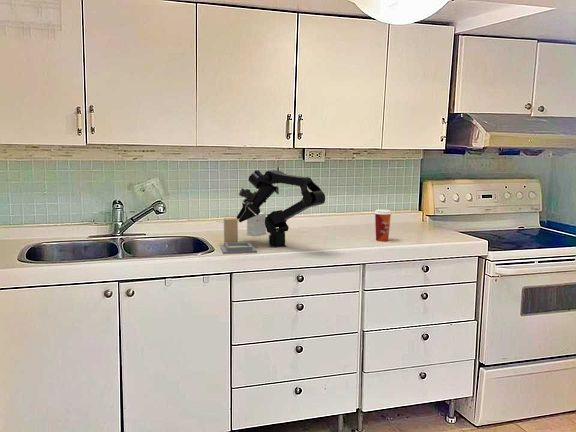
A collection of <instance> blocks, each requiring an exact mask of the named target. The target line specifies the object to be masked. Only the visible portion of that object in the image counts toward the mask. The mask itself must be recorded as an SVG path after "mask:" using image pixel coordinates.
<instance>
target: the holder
mask: <svg viewBox="0 0 576 432" xmlns="http://www.w3.org/2000/svg"><path fill="white" fill-rule="evenodd" d="M220 251H221V252H222V254H223V255H227V254H251V253H252V254H257V253H258V250H257V249H256V247H255V246H254V244H251V243H250V241H243V242H242V241H238V242H234V243H225V245H220Z"/></svg>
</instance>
